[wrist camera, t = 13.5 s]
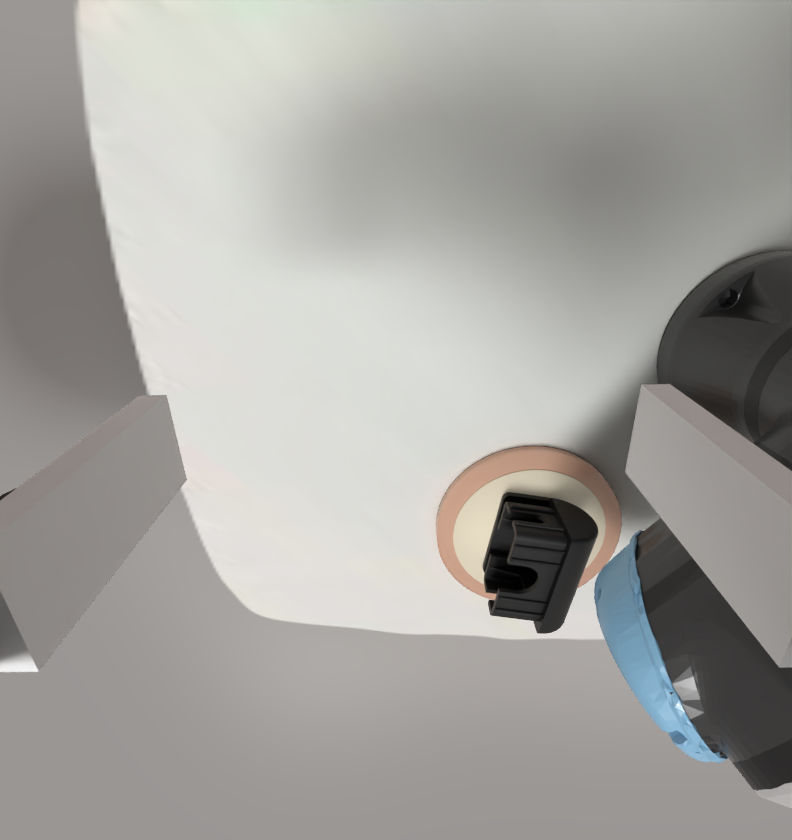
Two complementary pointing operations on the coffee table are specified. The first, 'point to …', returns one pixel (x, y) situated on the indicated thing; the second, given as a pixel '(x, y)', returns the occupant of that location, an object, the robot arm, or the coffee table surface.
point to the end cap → (537, 558)
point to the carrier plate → (526, 474)
